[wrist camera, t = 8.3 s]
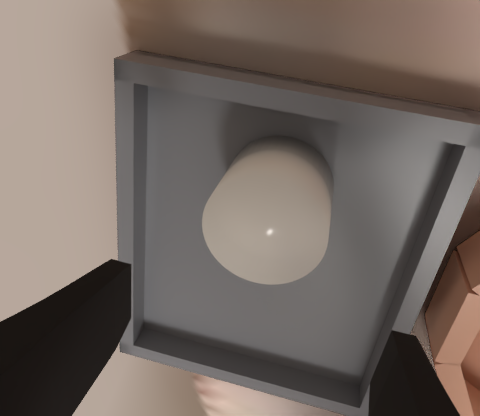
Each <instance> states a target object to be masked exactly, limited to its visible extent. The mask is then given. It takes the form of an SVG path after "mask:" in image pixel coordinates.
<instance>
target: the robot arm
mask: <svg viewBox="0 0 480 416" xmlns="http://www.w3.org/2000/svg"><path fill="white" fill-rule="evenodd" d="M130 320H131V264H129V263H125V262H121V261H117V260H113V259H111V260H109V261H108V262H105V263H104V264H102V265H101V266H99V267H97V268H96V269H94V270H92V271H91V272H89V273H87V274H86V275H84V276H82V277H81V278H79V279H77V280H76V281H74V282H72V283H71V284H69V285H68V286H66V287H64V288H62V289H61V290H59V291H57V292H55V293H54V294H52V295H50V296H49V297H47V298H45V299H43V300H41V301H40V302H38V303H36V304H34V305H32V306H30V307H28V308H26V309H25V310H23V311H21V312H19V313H17V314H15V315H13V316H11V317H9V318H7V319H5V320H3V321H1V322H0V416H72V414H73V413H74V412H75V410H76V408H77V407H78V405H79V404H80V403H81V401H82V400H83V398H84V396H85V395H86V394H87V392H88V390H89V389H90V387H91V386H92V385H93V383H94V382H95V380H96V378H97V377H98V376H99V374H100V373H101V371H102V369H103V368H104V367H105V365H106V364H107V362H108V360H109V359H110V357H111V356H112V354H113V353H114V351H115V350H116V348H117V346H118V344H119V342H120V340H121V338H122V336H123V334H124V332H125V330H126V328H127V326H128V324H129V322H130ZM368 416H460V414H459V412H458V411H457V409H456V407H455V406H454V404H453V402H452V401H451V399H450V397H449V396H448V394H447V392H446V390H445V389H444V387H443V385H442V383H441V381H440V380H439V378H438V376H437V374H436V372H435V371H434V369H433V367H432V365H431V363H430V361H429V359H428V357H427V356H426V354H425V352H424V350H423V348H422V346H421V344H420V342H419V340H418V339H417V337H416V336H414V335H410V334H406V333H402V332H398V331H394V330H391V333H390V335H389V338H388V340H387V342H386V345H385V347H384V350H383V352H382V355H381V357H380V359H379V362H378V364H377V367H376V369H375V372H374V374H373V376H372V379H371V381H370V391H369V412H368Z"/></svg>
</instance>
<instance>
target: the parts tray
mask: <svg viewBox="0 0 480 416" xmlns="http://www.w3.org/2000/svg"><path fill="white" fill-rule="evenodd" d="M114 82H115V131H116V181H117V230H118V261H121V262H125V263H129V264H131V320H130V322H129V324H128V326H127V328H126V330H125V332H124V334H123V336H122V338H121V340H120V352H122V353H126V354H130V355H133V356H137V357H140V358H144V359H147V360H151V361H154V362H158V363H161V364H165V365H169V366H172V367H176V368H180V369H183V370H186V371H190V372H193V373H197V374H201V375H204V376H208V377H211V378H215V379H218V380H222V381H225V382H229V383H233V384H236V385H240V386H243V387H247V388H250V389H254V390H257V391H261V392H265V393H268V394H272V395H275V396H279V397H282V398H286V399H289V400H293V401H297V402H300V403H304V404H307V405H311V406H314V407H318V408H321V409H325V410H329V411H332V412H336V413H339V414H343V415H346V416H368V412H369V391H370V381H371V379H372V376H373V374H374V372H375V369H376V367H377V364H378V362H379V359H380V357H381V355H382V352H383V350H384V347H385V345H386V342H387V340H388V338H389V335H390V333H391V330H394V331H398V332H402V333H406V334H410V333H411V331H412V328H413V326H414V324H415V322H416V319H417V317H418V315H419V312H420V310H421V308H422V305H423V303H424V301H425V299H426V296H427V294H428V292H429V289H430V287H431V285H432V283H433V280H434V278H435V276H436V273H437V271H438V269H439V266H440V264H441V262H442V260H443V257H444V255H445V253H446V250H447V248H448V246H449V244H450V241H451V239H452V237H453V234H454V232H455V230H456V228H457V225H458V223H459V221H460V218H461V216H462V214H463V211H464V209H465V207H466V205H467V202H468V200H469V198H470V195H471V193H472V191H473V189H474V186H475V184H476V182H477V179H478V177H479V175H480V111H474V110H469V109H463V108H458V107H452V106H446V105H441V104H435V103H430V102H424V101H418V100H413V99H407V98H402V97H396V96H390V95H385V94H379V93H374V92H368V91H362V90H357V89H351V88H346V87H340V86H334V85H329V84H323V83H318V82H312V81H306V80H301V79H295V78H289V77H284V76H278V75H273V74H267V73H261V72H256V71H250V70H245V69H239V68H233V67H228V66H222V65H217V64H211V63H205V62H200V61H194V60H189V59H183V58H177V57H172V56H166V55H161V54H155V53H149V52H144V51H138V50H136V51H133V52H130V53H127V54H125V55H122V56H119V57H116V58H114ZM274 135H280V136H289V137H293V138H297V139H299V140H302V141H304V142H306V143H307V144H309V145H311V146H312V147H313V148H315V149H316V150H317V151H318V152H319V153H320V154H321V155H322V156H323V158H324V159H325V160H326V162H327V164H328V165H329V168H330V170H331V173H332V177H333V183H334V190H333V200H332V210H331V220H330V230H329V239H328V245H327V249H326V252H325V254H324V256H323V258H322V260H321V261H320V263H319V264H318V265H317V267H316V268H315V269H313V270H312V271H311V272H310V273H309V274H307V275H306V276H304V277H302V278H300V279H298V280H295V281H293V282H289V283H285V284H277V285H268V284H260V283H255V282H251V281H248V280H245V279H243V278H240V277H238V276H237V275H235V274H233V273H232V272H230V271H229V270H227V269H226V268H225V267H224V266H222V265H221V264H220V263H219V262H218V261H217V260H216V258H215V257H214V256H213V254H212V253H211V251H210V250H209V248H208V246H207V244H206V241H205V239H204V235H203V229H202V217H203V211H204V208H205V205H206V203H207V201H208V199H209V198H210V196H211V195H212V193H213V191H214V190H215V188H216V187H217V185H218V184H219V182H220V181H221V179H222V178H223V176H224V174H225V173H226V171H227V170H228V168H229V167H230V165H231V164H232V162H233V161H234V159H235V157H236V156H237V155H238V153H239V152H240V151H241V150H242V149H243V148H244V147H245V146H247V145H248V144H250V143H251V142H253V141H255V140H257V139H260V138H263V137H267V136H274Z"/></svg>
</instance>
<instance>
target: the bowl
mask: <svg viewBox="0 0 480 416" xmlns="http://www.w3.org/2000/svg"><path fill="white" fill-rule="evenodd" d="M457 250H458V251H454V250H453V252H452V255H451V257H450V259H449V261H448V264H447V266H446V268H445V270H444V273H443V275H442V277H441V279H440V282H439V284H438V286H437V288H436V291H435V293H434V295H433V297H432V300H431V302H430V304H429V306H428V308H427V311H426V313H425V321H426V326H427V331H428V336H429V341H430V346H431V351H432V356H433V362H434V366H435V369H436V373H437V376H438V378H439V380H440V381H441V383H442V385H443V387H444V389H445V390H446V392H447V394H448V396H449V397H450V399H451V401H452V402H453V404H454V406H455V407H456V409H457V411H458V412H459V414H460V416H480V230H479V231H478V232H477V233H475V234H474V235H472V236H471V237H470V238H468V239H467V240H465V241H464V242H463V243H461V244H460V245H458V246H457Z"/></svg>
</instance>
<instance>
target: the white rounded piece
mask: <svg viewBox="0 0 480 416" xmlns="http://www.w3.org/2000/svg"><path fill="white" fill-rule="evenodd" d="M333 190H334V183H333V177H332V173H331V170H330V168H329V165H328V164H327V162H326V160H325V159H324V158H323V156H322V155H321V154H320V153H319V152H318V151H317V150H316V149H315V148H313V147H312V146H311V145H309V144H307V143H306V142H304V141H302V140H299V139H297V138H293V137H289V136H280V135H274V136H267V137H263V138H260V139H257V140H255V141H253V142H251V143H250V144H248V145H247V146H245V147H244V148H243V149H242V150H241V151H240V152H239V153H238V155H237V156H236V157H235V159H234V161H233V162H232V164H231V165H230V167H229V168H228V170H227V171H226V173H225V174H224V176H223V178H222V179H221V181H220V182H219V184H218V185H217V187H216V188H215V190H214V191H213V193H212V195H211V196H210V198H209V199H208V201H207V203H206V205H205V208H204V211H203V217H202V229H203V235H204V239H205V241H206V244H207V246H208V248H209V250H210V251H211V253H212V254H213V256H214V257H215V258H216V260H217V261H218V262H219V263H220V264H221V265H222V266H224V267H225V268H226V269H227V270H229V271H230V272H232V273H233V274H235V275H237V276H238V277H240V278H243V279H245V280H248V281H251V282H255V283H260V284H268V285H277V284H285V283H289V282H293V281H295V280H298V279H300V278H302V277H304V276H306V275H307V274H309V273H310V272H311V271H312V270H313V269H315V268H316V267H317V265H318V264H319V263H320V261H321V260H322V258H323V256H324V254H325V252H326V249H327V245H328V239H329V230H330V220H331V210H332V200H333Z"/></svg>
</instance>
